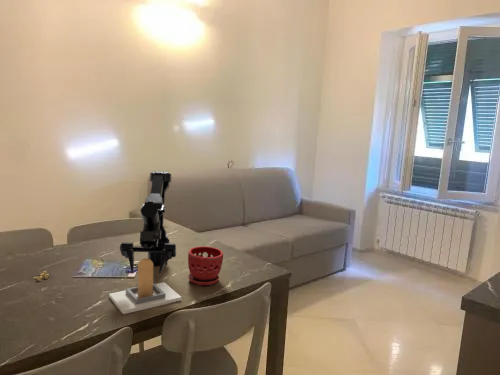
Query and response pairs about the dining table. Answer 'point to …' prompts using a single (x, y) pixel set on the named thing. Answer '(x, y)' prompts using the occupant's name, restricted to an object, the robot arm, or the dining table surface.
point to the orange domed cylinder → (145, 278)
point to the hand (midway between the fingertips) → (146, 272)
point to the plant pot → (204, 265)
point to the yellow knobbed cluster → (42, 276)
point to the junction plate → (144, 298)
